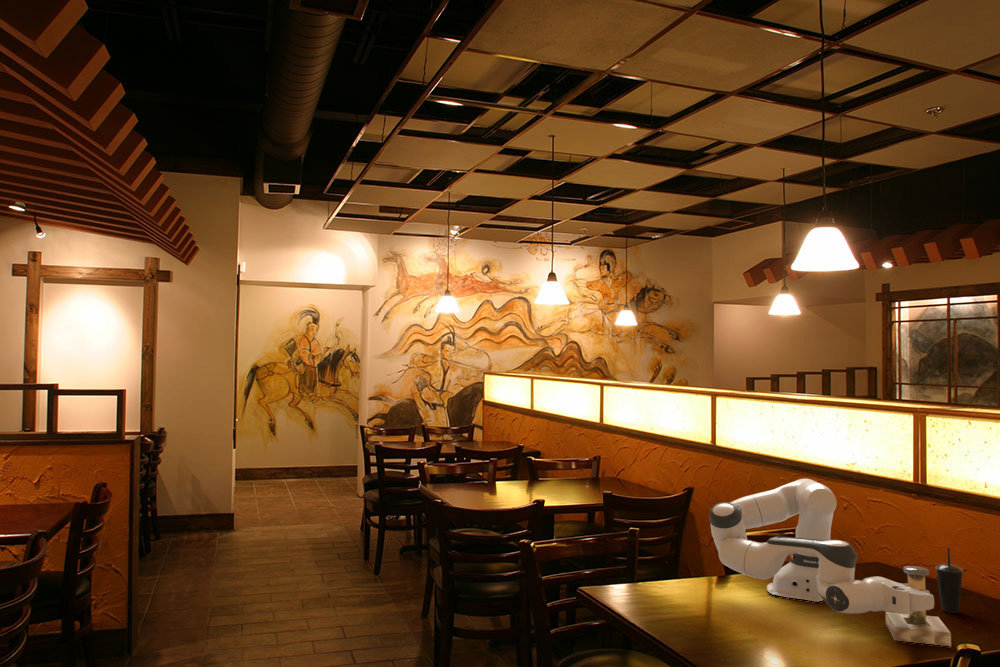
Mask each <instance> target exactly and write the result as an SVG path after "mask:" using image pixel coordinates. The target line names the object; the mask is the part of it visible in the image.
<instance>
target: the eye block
mask: <svg viewBox="0 0 1000 667" xmlns="http://www.w3.org/2000/svg"><path fill="white" fill-rule="evenodd" d="M886 625H887V626H886ZM885 626H886V628H887V627H888V628H887V630H888V629H889V630H888V632H889V633H890V632H891V633H890V635H891V634H892V635H891V637H892V636H893V637H892V639H893V638H894V639H893V640H894V641H895V640H898V641H905V642H904V643H906V642H914V643H913V644H915V643H925V644H934V645H941V646H940V647H942V646H949V647H948V648H952V633H951V631H950V630H949V628H948V627H947V626H946V625H945V623H944V622H943V621H942V620H941V619H940V617H939V616H935V615H934V616H932V615H926V624H915V623H912V622H910V621H909V614H900V613H896V612H891V611H885Z"/></svg>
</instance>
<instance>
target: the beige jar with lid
mask: <svg viewBox="0 0 1000 667" xmlns="http://www.w3.org/2000/svg"><path fill="white" fill-rule="evenodd" d="M903 573H904V574H907V584H908V586H909V587H912V588H914V589H917V590H920V591H921V590H922V589H925V590H926V577H927V576H930V570H929V568H926V567H922V566H918V565H917V566H916V565H915V566H914V565H906V566H903ZM926 616H927V610H924V611H917V612H913V611H910V612H909V621H910V622H912V623H915V624H926Z"/></svg>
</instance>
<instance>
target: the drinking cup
mask: <svg viewBox="0 0 1000 667" xmlns="http://www.w3.org/2000/svg"><path fill="white" fill-rule="evenodd" d="M946 549H947V550H946V552H947V563H942V564H939V565H936V566H935V570H936V577H937V584H938V585H937V586H938V592H939V600H940V608H941V612H943V611H945V612H944V613H946V612H948V613H947V614H950V613H958V614H959V613H960V608H961V606H960V605H961V593H962V579H963V573H964V570H963V568H960V567H958V566H957V565H953V564H951V550H950V548H947V547H946Z"/></svg>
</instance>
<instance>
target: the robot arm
mask: <svg viewBox="0 0 1000 667" xmlns="http://www.w3.org/2000/svg"><path fill="white" fill-rule="evenodd" d="M837 504H838V503H837V498H836V496H835V494H834V492H833V491H832V489H830V488H829V487H828V486H827V485H824V484H823V483H820V482H817V481H815V480H814V479H810V478H799V479H796V480H795V481H792V482H789V483H786V484H784V485H781V486H779V487H776V488H774V489H770V490H766V491H761V492H757V493H753V494H749V495H746V496H742V497H739V498H737V499H735V500H732V501H730V502H719V503H716V504H714V506H713V507H711V508H710V510H709V514H708V520H709V523H710V529H711V536H712V538H713V541H714V544H715V547H716V552H717V554H718V559H719V560H720V562H721V564H722V565H724V566H725V567H728V568H729V569H731V570H733V571H736V572H737V573H740V574H743V575H745V576H748V577H751V578H753V579H758V580H763V581H764V580H769V579H771V578H773V579H772V582H770V583H768V584H767V585H766V592H767V591H768V592H769V593H771V594H772V595H778V596H784V597H792V598H798V599H805V600H812V601H823V600H824V601H823V602H825V603H826V604H827V605H828V606H829V607H830V608H831V609H832V610H833V611H835V612H837V613H842V614H863V613H868V612H869V611H871V612H882V611H883V612H894V613H900V614H909V612H910V611H913V612H917V611H924V610H926V611H930V610H932V609H934V607H935V598H934V597H935V596H934V594H932V593H931V592H930V590H927V589H926V588H925V589H922V590H921V591H920V590H917V589H914V588H912V587H909V586H908V583H900V582H896V581H894V580H891V579H888V578H885V577H883V576H870V577H865V578H863V579H862V580H861V579H860V580H859V579H855V573H856V572H855V571H856V564H857V559H858V554H857V552H856V551H855V549H854V548H853V546H852V545H851V544H850V543H849V542H847V541H843V540H839V539H831V532H832V531H831V530H832V529H831V528H832V526H833V525H832V523H833V519H834V518H833V517H834V512H835V510H836V509H837ZM798 514H799V515H798ZM796 515H798V522H797V525H796V527H795V537H791V536H790V537H789V536H773V537H770V538H769V539H767V541H766V542H758V541H755V540H754V541H753V540H750V539H748V537H747V532H746V531H747V530H748V529H753V528H760V527H763V526H768V525H772V524H777V523H781V522H784V521H786V520H787V519H789V518H792V517H794V516H796ZM788 557H789V562H788V563H787V564H785V565H784V563H785V561H786V559H787V558H788ZM768 592H767V593H768ZM769 593H768V594H769ZM772 595H771V596H772Z"/></svg>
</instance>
